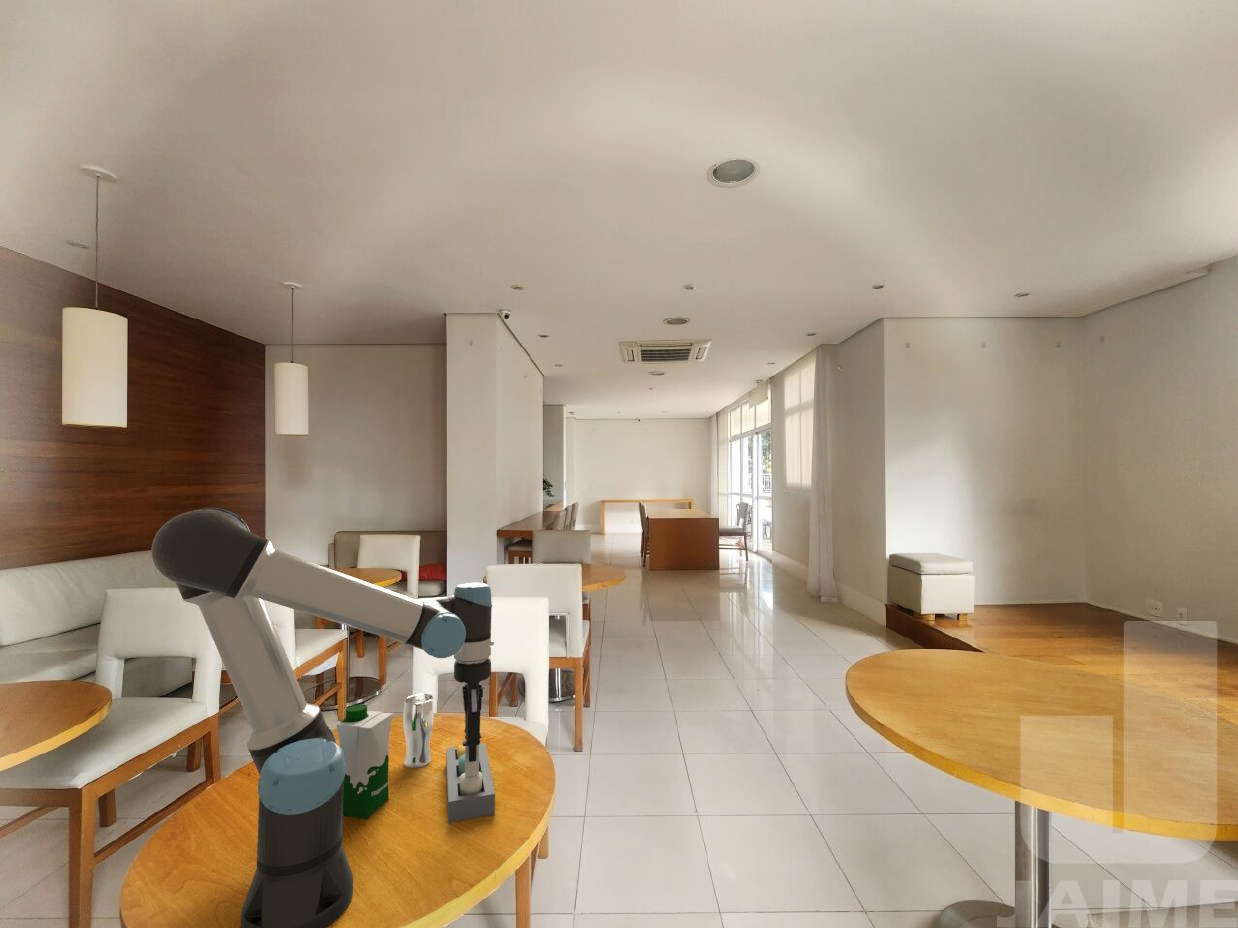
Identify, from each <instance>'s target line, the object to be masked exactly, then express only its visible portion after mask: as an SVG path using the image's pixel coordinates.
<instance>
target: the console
mask: <svg viewBox="0 0 1238 928" xmlns="http://www.w3.org/2000/svg"><path fill="white" fill-rule="evenodd" d="M486 745H487V744H486V742H480V744H479V772H481V773H482V792H481V793H476V794H470V795H464V796H460V776H459V775H458V763H459V759H457V748H458V747H459V746H453V747H446V748H445V750H446V751H445V753H446V754H445V755H446V756H445V757H446V758H445V761H446V762H445V767H446V772H445V773H446V797H447V799H446V800H447V824H449V823H454V822H460V821H464V820H465V821H466V820H471V819H476V818H477V819H478V818H483V817H487V816H488V817H489V816H492V815H495V814H496V792H495V788H494V781H493V776H492V772H491V767H490V762H489V756H488V751H487V746H486Z"/></svg>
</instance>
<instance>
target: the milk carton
mask: <svg viewBox="0 0 1238 928" xmlns="http://www.w3.org/2000/svg"><path fill="white" fill-rule="evenodd" d="M393 714H394V713H391V712H383V711H375V710H374V711H372V710H368V706H367V704H364V703H363V704H362V703H360V704H353V705H351V706H348V707H346V708H345V718H343V720H341V721H340V722H339V723H337V724H336V731H337V735H338V739H339V746H340V747H341V749H342V751H343V753H344V760H345V765H346V772H345V776H344V794H343V817H349V818H357V819H363V820H364V819H365V820H368V819H369V818H371V816H373V815H374V814H375V813H376V812H377V811H378V810H380V809H381V807H383V806H384V805H385V804H386V803H387V802H389V800H390V799H389V798H390V797H389V762H390V761H389V756H390V755H389V754H390V753H389V752H390V734H391V728H392V727H391V726H392V721H393Z"/></svg>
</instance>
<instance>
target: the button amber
mask: <svg viewBox="0 0 1238 928" xmlns="http://www.w3.org/2000/svg"><path fill="white" fill-rule="evenodd" d="M457 747H458V748H457V759H459V757H460V756H461V755H463V754H465V746H463V743H462V744H460V745H458V746H457Z"/></svg>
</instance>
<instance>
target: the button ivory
mask: <svg viewBox="0 0 1238 928" xmlns="http://www.w3.org/2000/svg"><path fill="white" fill-rule="evenodd" d="M481 792H482V773H481V772H479V775H477V776H470V777H465V773H463V774H462V775H461V776H460V796H464V795H470V794H476V793H481Z"/></svg>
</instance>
